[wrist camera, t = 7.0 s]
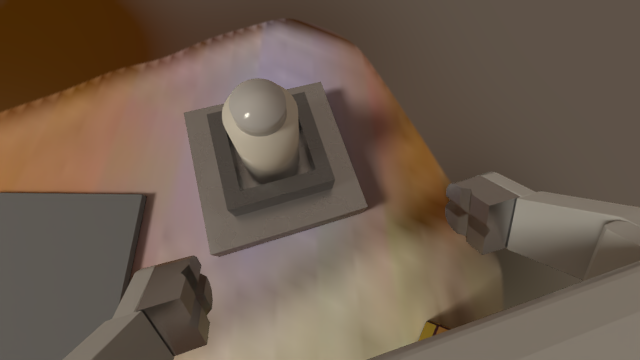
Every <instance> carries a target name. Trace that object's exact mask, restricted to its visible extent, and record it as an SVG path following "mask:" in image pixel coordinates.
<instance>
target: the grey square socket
mask: <svg viewBox="0 0 640 360" xmlns="http://www.w3.org/2000/svg"><path fill="white" fill-rule="evenodd" d="M287 91H288V92H289V93H290V94H291V95H292V96H293V98H294V100H295V101H296V104H297V107H298V123H299V156H300V159H299V165H298V168H297V170H296V171H295V173H294V174H293V175H292V176H291V177H288V178H285V179H281V180H277V181H274V182H270V183H263V182H260V181H258V180H256V179H255V178H253V177H252V176H251V175H250V174H249V172H248V171H247V169H246V167H245V165H244V163H243V161H242V159H241V158H240V156H239V154H238V152H237V150H236V148H235V146H234V144H233V143H232V141H231V139H230V137H229V135H228V133H227V131H226V129H225V127H224V125H223V121H222V110H223V106H224V104H221V105H216V106H212V107H207V108H203V109H198V110H194V111H190V112H185V113H184V116H185V122H186V127H187V132H188V138H189V143H190V148H191V154H192V159H193V164H194V169H195V175H196V180H197V185H198V191H199V196H200V201H201V206H202V212H203V217H204V222H205V228H206V233H207V238H208V243H209V249H210V254H211V255H214V256H218V257H220V256H224V255H227V254H230V253H233V252H237V251H240V250H243V249H246V248H250V247H253V246H256V245H259V244H263V243H266V242H269V241H272V240H276V239H279V238H282V237H285V236H289V235H292V234H295V233H298V232H301V231H305V230H308V229H311V228H314V227H318V226H321V225H324V224H327V223H331V222H334V221H337V220H340V219H344V218H347V217H350V216H353V215H357V214H360V213H362V212H363V211H364V210H365V209H366V208H367V207H368V206H367V203H366V201H365V198H364V195H363V193H362V190H361V187H360V185H359V182H358V179H357V177H356V174H355V171H354V169H353V166H352V163H351V161H350V158H349V155H348V153H347V150H346V147H345V145H344V142H343V140H342V137H341V134H340V132H339V129H338V126H337V124H336V121H335V118H334V116H333V113H332V110H331V108H330V105H329V102H328V100H327V97H326V94H325V92H324V89H323V86H322V84H321V82H318V83H313V84H309V85H305V86H300V87H296V88H291V89H287Z"/></svg>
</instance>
